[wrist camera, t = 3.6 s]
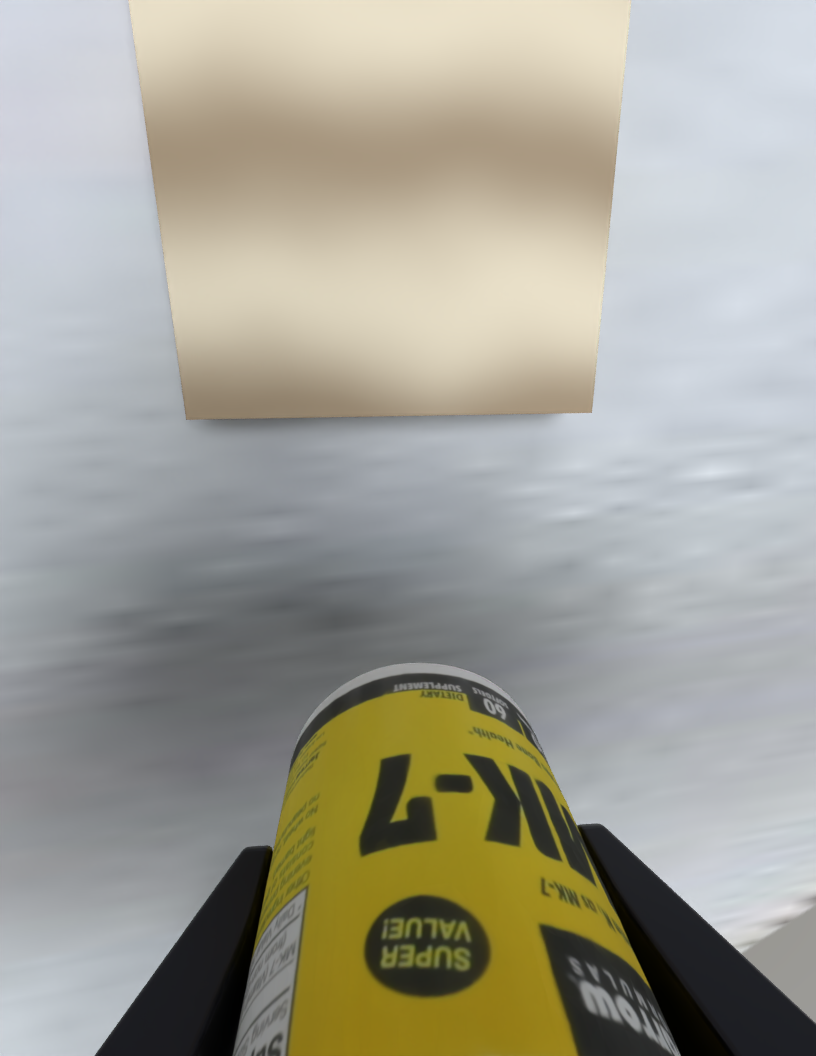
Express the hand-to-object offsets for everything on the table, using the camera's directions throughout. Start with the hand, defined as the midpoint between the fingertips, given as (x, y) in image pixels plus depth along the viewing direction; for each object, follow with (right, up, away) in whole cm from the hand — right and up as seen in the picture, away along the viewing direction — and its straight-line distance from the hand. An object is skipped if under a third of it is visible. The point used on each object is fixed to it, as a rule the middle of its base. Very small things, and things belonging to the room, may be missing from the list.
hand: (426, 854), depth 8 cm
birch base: (-1, +15, +8) cm, 17 cm away
